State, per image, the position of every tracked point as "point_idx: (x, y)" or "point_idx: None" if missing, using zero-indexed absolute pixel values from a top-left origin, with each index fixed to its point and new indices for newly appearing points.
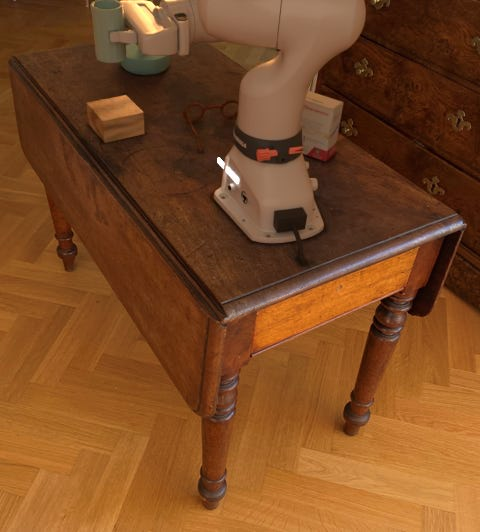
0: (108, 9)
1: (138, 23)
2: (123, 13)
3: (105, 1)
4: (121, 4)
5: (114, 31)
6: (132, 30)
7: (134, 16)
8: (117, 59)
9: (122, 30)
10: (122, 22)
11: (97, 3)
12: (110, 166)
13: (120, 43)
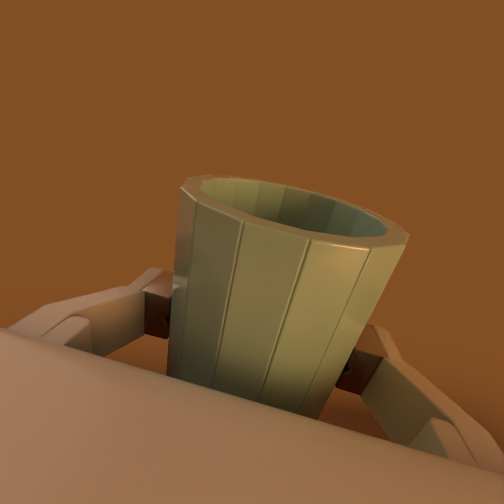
0: (206, 177)
1: (16, 391)
2: (220, 286)
3: (380, 234)
4: (260, 221)
5: (156, 278)
6: (52, 338)
7: (257, 500)
8: None
9: (176, 347)
10: (183, 310)
11: (352, 219)
12: None
13: (166, 375)
